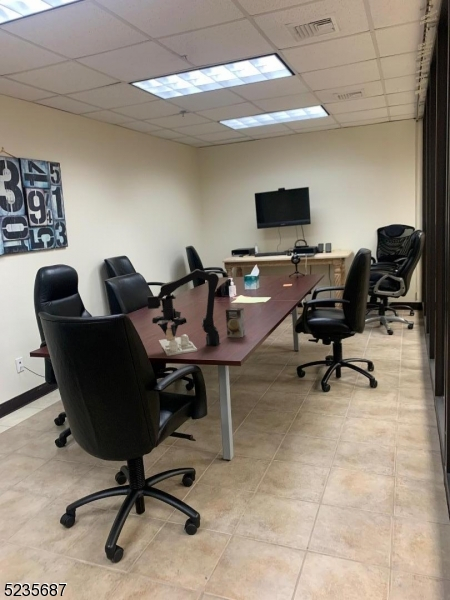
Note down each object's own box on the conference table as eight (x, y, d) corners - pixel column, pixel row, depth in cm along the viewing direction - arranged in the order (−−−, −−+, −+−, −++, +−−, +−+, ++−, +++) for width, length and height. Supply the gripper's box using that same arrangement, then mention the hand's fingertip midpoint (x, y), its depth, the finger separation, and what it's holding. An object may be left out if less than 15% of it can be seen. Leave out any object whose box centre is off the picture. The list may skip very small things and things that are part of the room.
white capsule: (180, 351, 234) (178, 339, 233) (174, 353, 230) (173, 341, 229) (173, 350, 236) (172, 338, 235) (168, 352, 233) (166, 340, 232)
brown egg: (176, 339, 240) (175, 327, 239) (171, 341, 236) (170, 329, 235) (170, 338, 242) (169, 326, 241) (165, 340, 239) (163, 328, 238)
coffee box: (226, 337, 256) (224, 309, 253) (230, 334, 262) (228, 307, 259) (242, 337, 253) (240, 309, 250) (245, 334, 259) (243, 307, 256)
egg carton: (197, 352, 233) (197, 349, 232) (167, 356, 228) (167, 353, 228) (185, 337, 262) (185, 334, 262) (158, 341, 258) (158, 338, 258)
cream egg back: (190, 345, 243) (189, 333, 242) (185, 347, 239) (184, 336, 238) (184, 344, 245) (183, 333, 244) (179, 347, 242) (178, 335, 240)
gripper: (191, 304, 238) (193, 333, 241) (162, 303, 247) (165, 331, 250) (179, 309, 229) (181, 339, 232) (150, 308, 238) (153, 336, 241)
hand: (170, 336), depth 239 cm, fingers closed on brown egg, 4 cm apart
